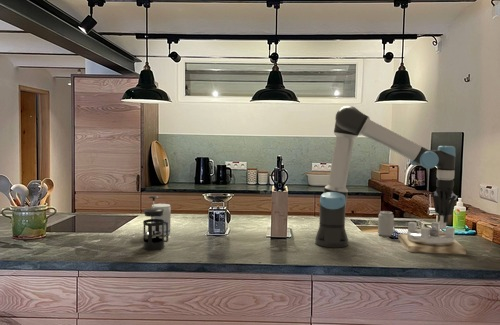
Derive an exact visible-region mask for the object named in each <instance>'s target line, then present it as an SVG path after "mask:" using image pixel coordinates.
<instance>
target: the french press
mask: <svg viewBox="0 0 500 325" xmlns="http://www.w3.org/2000/svg"><path fill="white" fill-rule="evenodd" d="M148 198H149V199H152V203H153V204H152V205H153V208H152V207H151V208H146V209H143V210H142V211H143V213H144V217H148V218H149V217H150V218H149V219H144V220H143V223H142V225H143V242H142V243H143V245H142V246H143V247H142V249H143V250H144V251H161V250H163V249H165V248H166V247H165V243H168V242H169V234H168V222H164V220H162V219H154V217H156V216H162V215H163V211H164V209H160V208H154V204H155V199H157V198H159V196H157V195H151V196H148ZM151 217H153V219H151ZM151 222H153V223H151ZM154 222H155V223H154ZM164 223H166V235H164ZM160 225H162V232H160V231H159V226H160ZM152 226H153V231H152ZM154 226H155V231H154ZM146 227H147V232H146ZM165 236H166V237H165ZM146 237H147V238H146ZM161 237H162V238H161ZM165 238H166V240H165Z"/></svg>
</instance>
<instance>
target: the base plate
mask: <svg viewBox="0 0 500 325" xmlns="http://www.w3.org/2000/svg"><path fill="white" fill-rule="evenodd" d="M397 238H398V240H399V241H400V243H401V244H402V246H403V247H404V248H405V249H406V251H408V252H410V253H411V252H413V253H414V252H415V253H430V254H431V253H432V254H436V253H437V254H450V255H452V254H453V255H467V248H466V247H465V246H463V245H462V244H461V243H459V242H458V241H457V240H456V239H454V244H453V245H449V246H430V245H423V244H418V243H415V242H412V241H410V240H408V239H407V233H398V236H397Z"/></svg>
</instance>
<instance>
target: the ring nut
mask: <svg viewBox="0 0 500 325" xmlns="http://www.w3.org/2000/svg"><path fill="white" fill-rule="evenodd" d="M407 226H408V227H407V231H406V232H407V233H406V234H407V239H408V240H410V241H412V242H415V243H418V244H423V245H430V246H449V245H453V244H454V240H455V233H456V232H455V231H456V230H455V229H456V228H455V227H451V226H446V229H445V230H444V231H443V230H441V229H440V221H431V228H430V227H424V226H423V227H421V228H417V227H418V223H417V222H414V221H409V222H408V223H407Z"/></svg>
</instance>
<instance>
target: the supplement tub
mask: <svg viewBox="0 0 500 325" xmlns="http://www.w3.org/2000/svg"><path fill="white" fill-rule="evenodd" d="M151 208H153V204H151ZM154 208H160V209H164V211H163V215H162V216H156V217H154V219H162V220H164V222H168V235H170V234H171V217H172V216H171V214H172V213H171V212H172V211H171V210H172V209H171V204H169V203H154ZM150 219H153V217H150ZM150 223H153V222H150ZM154 223H155V222H154ZM152 231H153V226H152ZM154 231H155V226H154ZM159 231H160V232H162V225H160V226H159ZM164 236H166V223H164Z"/></svg>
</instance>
